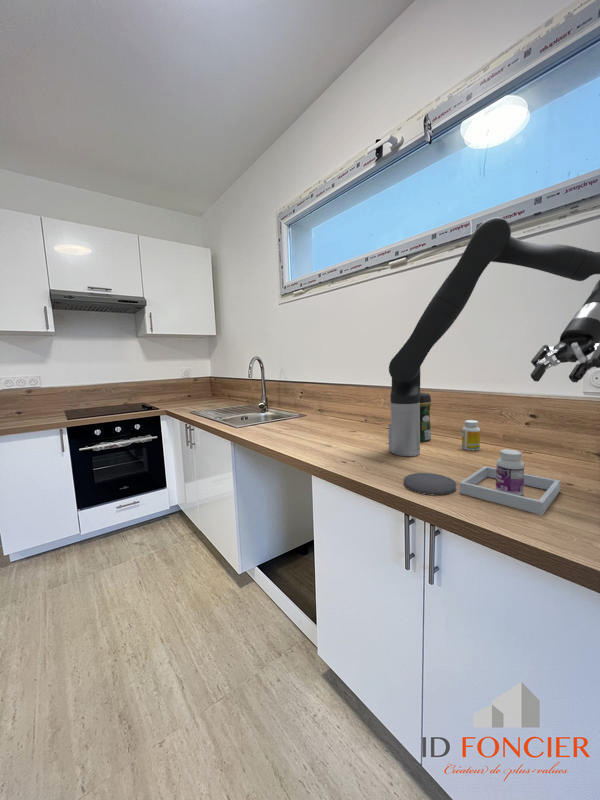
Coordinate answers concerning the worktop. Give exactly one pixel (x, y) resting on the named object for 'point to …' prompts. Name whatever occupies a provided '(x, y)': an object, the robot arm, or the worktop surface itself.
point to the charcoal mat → (430, 483)
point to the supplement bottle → (471, 435)
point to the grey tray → (509, 499)
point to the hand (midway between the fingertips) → (552, 379)
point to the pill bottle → (510, 472)
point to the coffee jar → (425, 417)
